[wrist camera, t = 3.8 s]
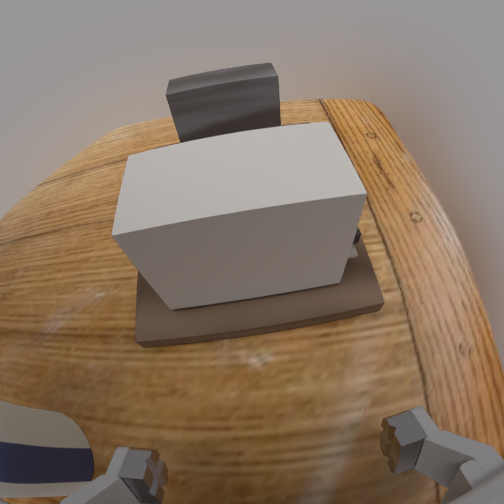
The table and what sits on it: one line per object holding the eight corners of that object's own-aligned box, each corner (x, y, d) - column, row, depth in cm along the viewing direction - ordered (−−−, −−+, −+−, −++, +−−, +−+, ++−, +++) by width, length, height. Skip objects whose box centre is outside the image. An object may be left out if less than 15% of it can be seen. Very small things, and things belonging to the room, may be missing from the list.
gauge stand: (378, 310, 21) (426, 237, 13) (143, 347, 21) (72, 294, 13) (309, 132, 33) (310, 59, 25) (157, 158, 33) (131, 90, 25)
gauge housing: (368, 277, 21) (406, 188, 13) (170, 309, 21) (111, 235, 13) (335, 190, 25) (347, 100, 18) (171, 216, 25) (134, 132, 18)
